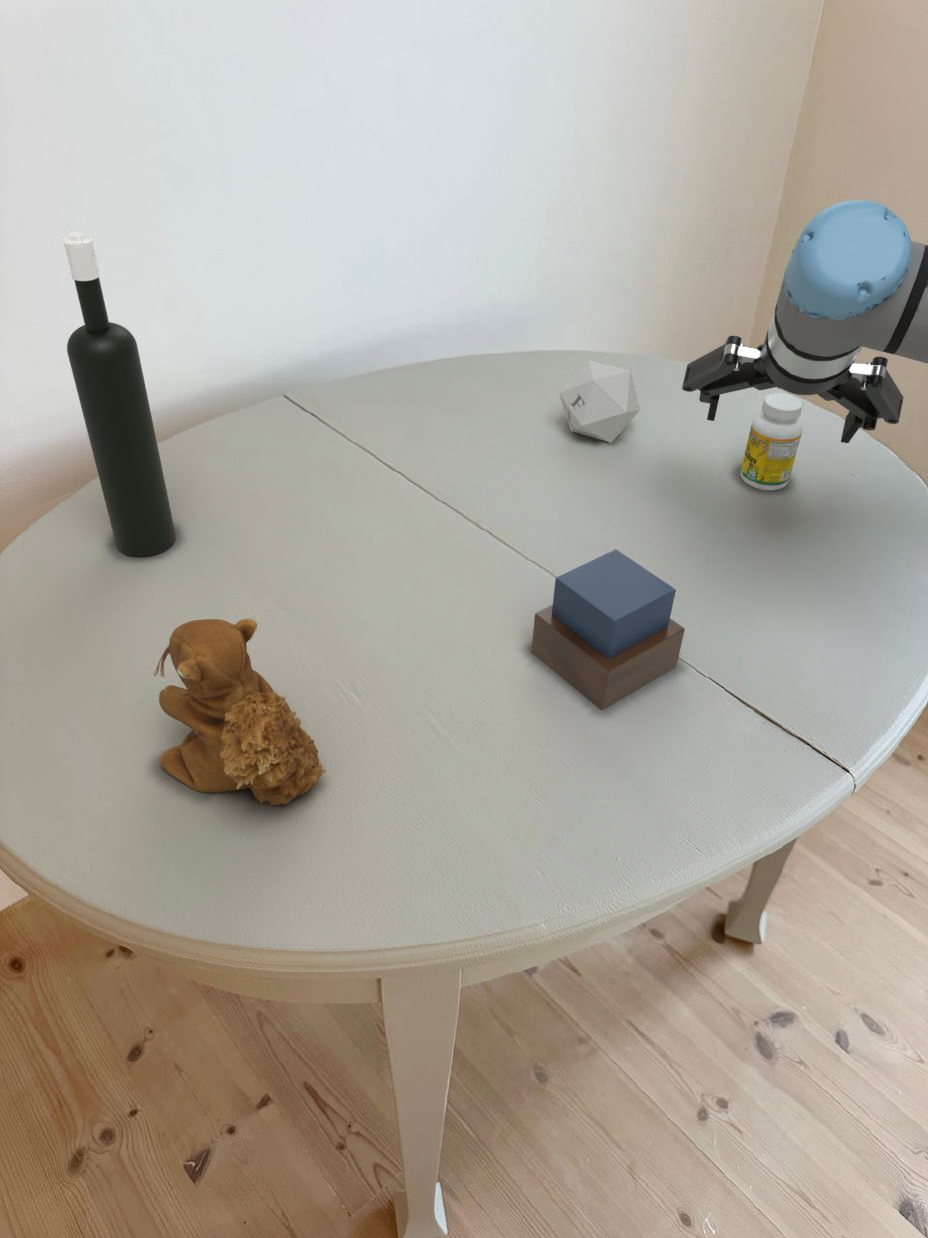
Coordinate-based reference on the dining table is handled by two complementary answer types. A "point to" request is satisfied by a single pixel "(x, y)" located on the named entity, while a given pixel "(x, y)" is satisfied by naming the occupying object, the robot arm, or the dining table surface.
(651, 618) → the top block
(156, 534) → the wine bottle
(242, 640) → the stuffed squirrel
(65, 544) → the dining table surface
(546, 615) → the base block
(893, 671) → the dining table surface
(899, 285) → the robot arm
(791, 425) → the supplement bottle
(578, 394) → the die
